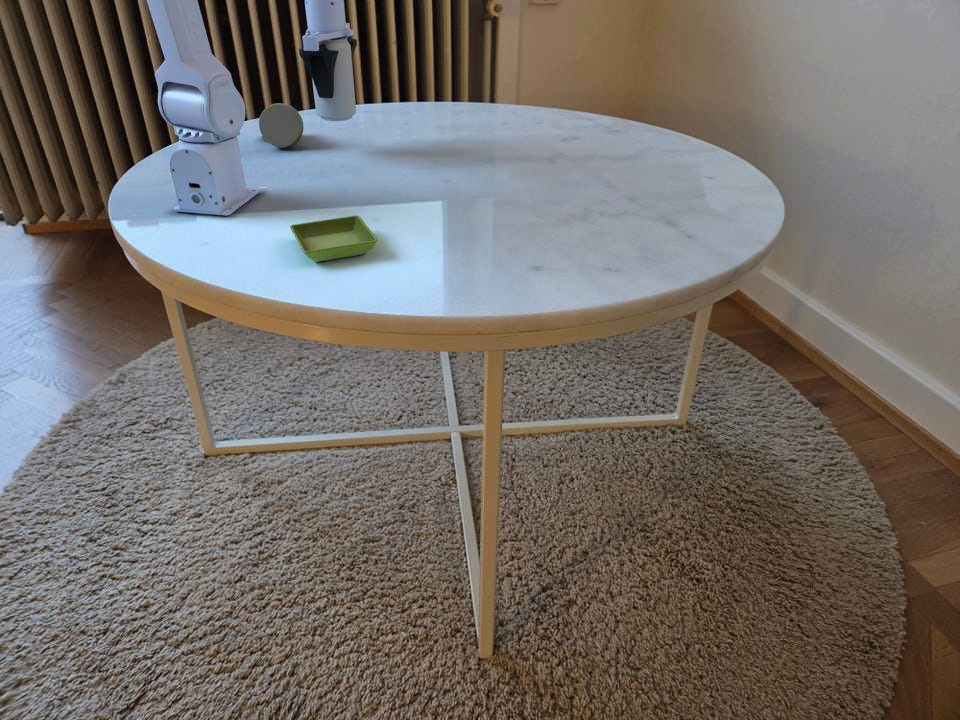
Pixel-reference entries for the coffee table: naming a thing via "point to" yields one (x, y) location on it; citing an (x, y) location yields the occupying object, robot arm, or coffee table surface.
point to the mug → (281, 125)
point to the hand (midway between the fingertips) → (333, 92)
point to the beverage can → (338, 85)
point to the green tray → (334, 238)
